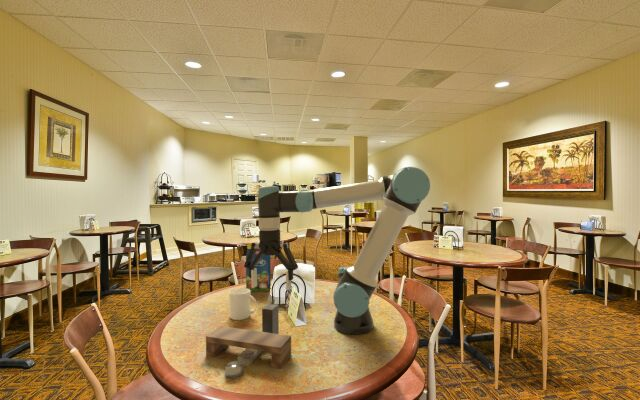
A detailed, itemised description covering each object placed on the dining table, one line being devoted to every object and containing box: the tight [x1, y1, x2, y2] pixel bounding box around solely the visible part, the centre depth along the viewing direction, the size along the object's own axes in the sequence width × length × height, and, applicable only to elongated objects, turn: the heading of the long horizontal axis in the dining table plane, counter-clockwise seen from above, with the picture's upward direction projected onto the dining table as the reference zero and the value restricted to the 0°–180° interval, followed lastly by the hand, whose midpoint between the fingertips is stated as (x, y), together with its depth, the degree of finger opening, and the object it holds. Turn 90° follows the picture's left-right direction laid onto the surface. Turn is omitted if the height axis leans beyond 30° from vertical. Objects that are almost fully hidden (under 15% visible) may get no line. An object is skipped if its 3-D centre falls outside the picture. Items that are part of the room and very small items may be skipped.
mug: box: [228, 287, 258, 321], centre depth 129 cm, size 9×12×11 cm
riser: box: [205, 325, 292, 370], centre depth 98 cm, size 26×8×6 cm, turn 73°
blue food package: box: [245, 243, 272, 292], centre depth 166 cm, size 6×12×25 cm, turn 89°
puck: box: [224, 360, 244, 380], centre depth 88 cm, size 5×5×2 cm
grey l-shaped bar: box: [237, 303, 280, 366], centre depth 103 cm, size 21×4×11 cm, turn 163°
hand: (271, 288), depth 110 cm, fingers open, 13 cm apart
